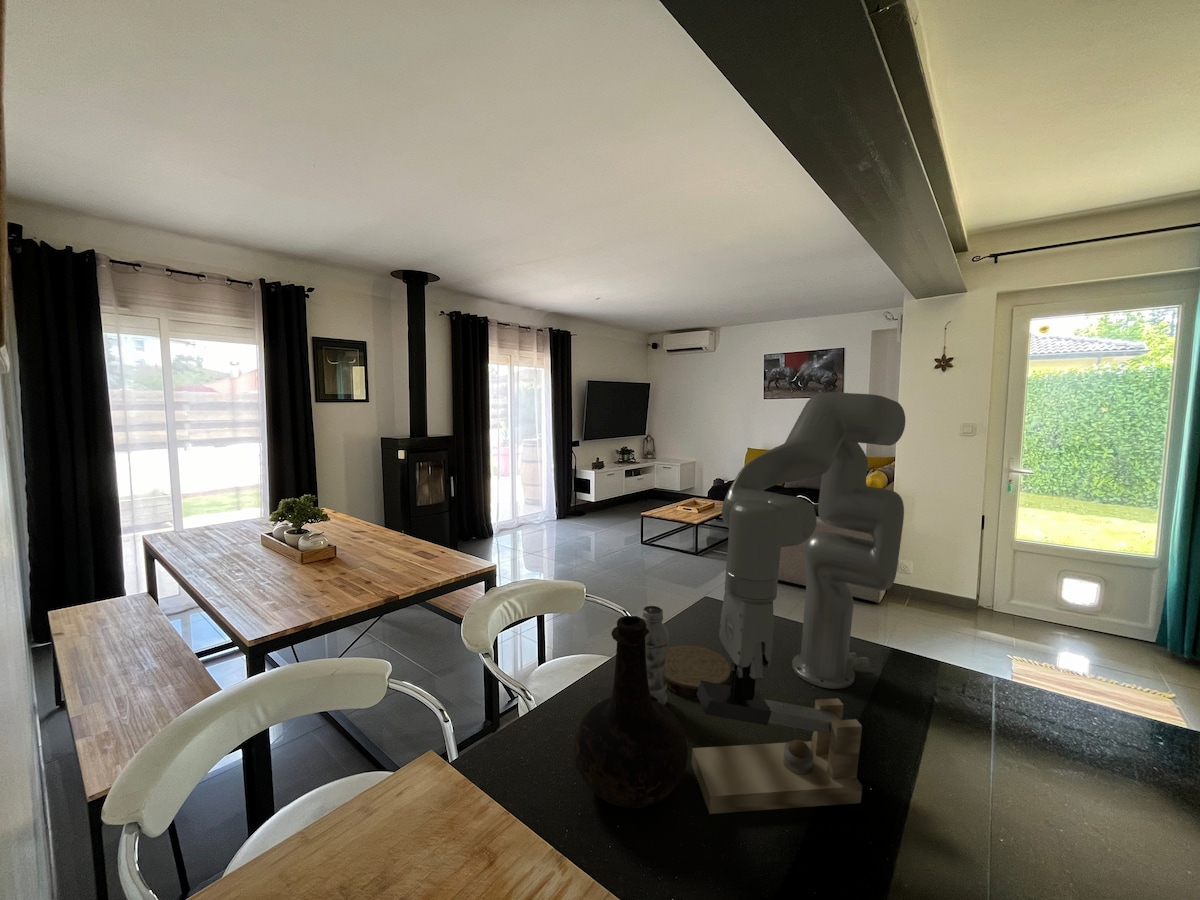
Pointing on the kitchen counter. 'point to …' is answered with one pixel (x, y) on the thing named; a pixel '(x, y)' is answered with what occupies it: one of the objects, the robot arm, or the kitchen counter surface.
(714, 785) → the nutcracker base
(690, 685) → the brown round flat disc
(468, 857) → the kitchen counter surface
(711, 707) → the lever
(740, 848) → the kitchen counter surface
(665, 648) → the plastic bottle
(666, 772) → the glass bottle
